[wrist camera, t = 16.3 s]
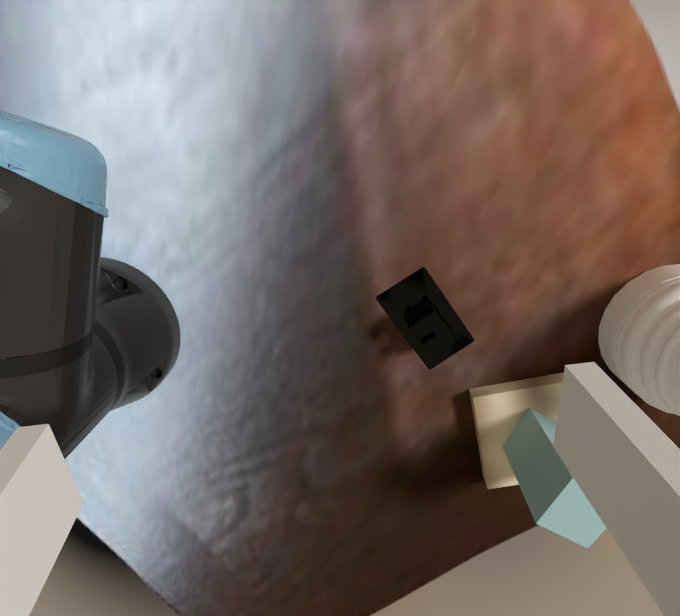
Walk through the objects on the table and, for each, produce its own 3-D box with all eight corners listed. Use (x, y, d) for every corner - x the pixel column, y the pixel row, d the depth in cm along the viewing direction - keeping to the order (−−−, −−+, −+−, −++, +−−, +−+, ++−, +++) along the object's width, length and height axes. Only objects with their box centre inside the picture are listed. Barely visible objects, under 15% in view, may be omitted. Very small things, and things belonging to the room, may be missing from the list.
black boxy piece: (360, 288, 49) (360, 303, 44) (423, 246, 47) (429, 256, 43) (430, 382, 52) (436, 404, 47) (491, 345, 50) (503, 364, 46)
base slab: (482, 474, 55) (487, 489, 53) (467, 386, 52) (472, 397, 49) (585, 458, 54) (595, 472, 51) (577, 366, 50) (587, 378, 48)
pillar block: (543, 466, 51) (588, 548, 41) (502, 446, 51) (536, 523, 40) (572, 429, 50) (626, 504, 39) (530, 408, 49) (572, 477, 39)
